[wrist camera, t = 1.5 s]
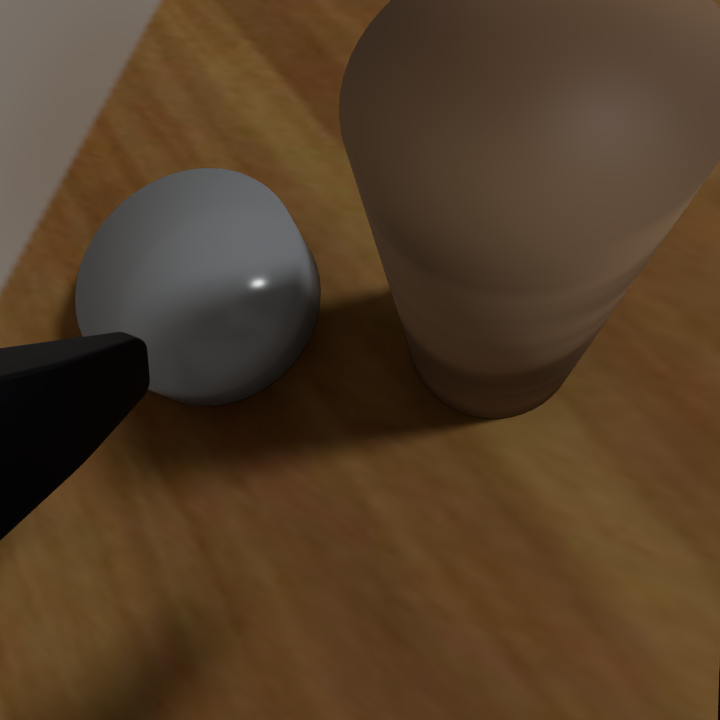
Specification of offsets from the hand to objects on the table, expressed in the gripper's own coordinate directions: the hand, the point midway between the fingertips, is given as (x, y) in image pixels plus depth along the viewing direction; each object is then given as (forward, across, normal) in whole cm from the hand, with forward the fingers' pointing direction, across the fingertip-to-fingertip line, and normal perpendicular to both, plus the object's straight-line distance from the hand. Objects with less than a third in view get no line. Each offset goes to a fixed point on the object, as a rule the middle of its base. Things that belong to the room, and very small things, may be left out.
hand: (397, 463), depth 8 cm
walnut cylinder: (+13, 0, +4) cm, 13 cm away
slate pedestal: (+11, +11, +6) cm, 17 cm away
